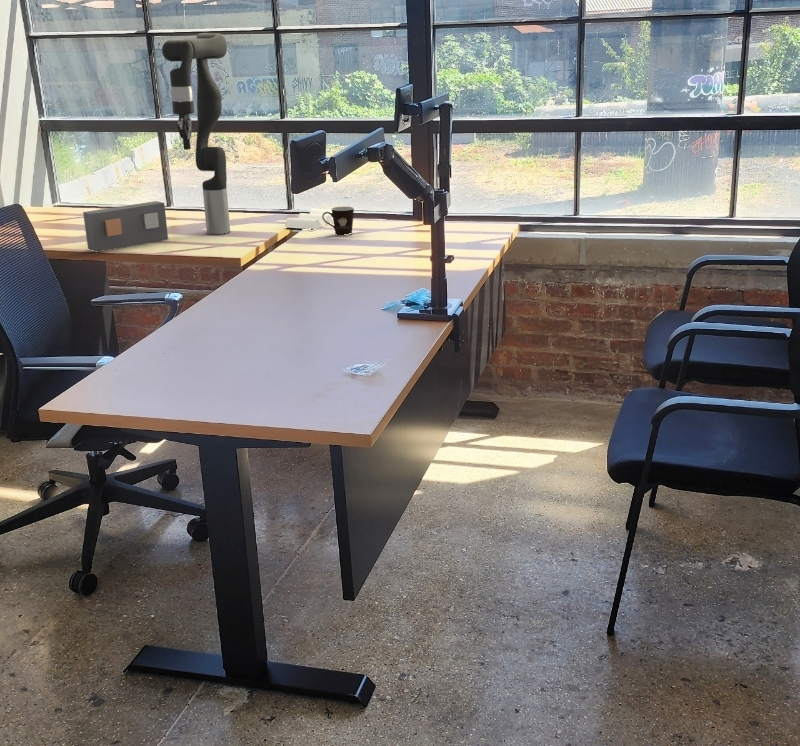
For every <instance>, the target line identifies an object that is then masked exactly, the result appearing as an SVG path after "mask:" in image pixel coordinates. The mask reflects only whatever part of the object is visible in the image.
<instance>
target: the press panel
mask: <svg viewBox="0 0 800 746" xmlns="http://www.w3.org/2000/svg"><path fill="white" fill-rule="evenodd" d="M165 206H166V205H165V202H162V201H156V200H154V201H149V202H141V203H136V204H135V203H134V204H127V205H121V206H114V207H109V208H102V209H95V210H90V211H89V210H88V211H83V212H82V214H83V215H82V216H83V222H84V229H85V236H86V243H87V244H86V245H87V250H88V249H90V250H94V251H101V252H103V251H102V250H106V251H109V250H108V249H112V250H115V249H114V248H117V249H121V247H123V248H128V247H133V246H139V245H143V244H148V243H154V242H155V243H156V242H160V241H165V240H169V236H168V235H169V234H168V226H167V217H166V207H165ZM152 212H157V214H158V223H159V227H156V228H150V229H144V223H143V214H146V213H152ZM112 219H120V220H121V228H122V234H120V235H114V236H107V235H106V233H105V227H104V221H106V220H112ZM127 246H128V247H127ZM90 250H89V251H90Z"/></svg>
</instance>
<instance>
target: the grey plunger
mask: <svg viewBox="0 0 800 746" xmlns="http://www.w3.org/2000/svg"><path fill="white" fill-rule="evenodd" d="M143 223H144V229H150V228H156V227H159V223H158V214H157V212H152V213H146V214H143Z"/></svg>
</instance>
